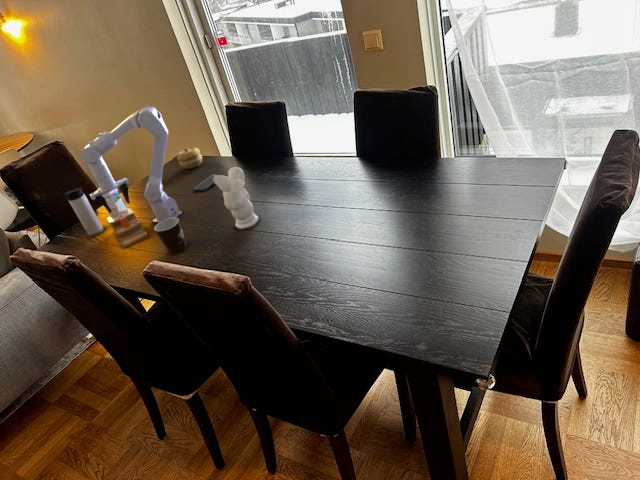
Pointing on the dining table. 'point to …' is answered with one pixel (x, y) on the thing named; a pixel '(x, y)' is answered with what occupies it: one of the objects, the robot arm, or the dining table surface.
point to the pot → (189, 158)
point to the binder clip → (124, 221)
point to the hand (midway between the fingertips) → (119, 207)
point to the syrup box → (114, 202)
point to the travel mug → (84, 211)
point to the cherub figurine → (237, 197)
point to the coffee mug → (171, 235)
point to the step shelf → (130, 233)
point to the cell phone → (205, 184)
